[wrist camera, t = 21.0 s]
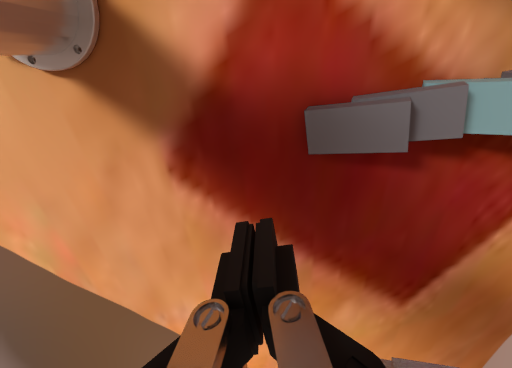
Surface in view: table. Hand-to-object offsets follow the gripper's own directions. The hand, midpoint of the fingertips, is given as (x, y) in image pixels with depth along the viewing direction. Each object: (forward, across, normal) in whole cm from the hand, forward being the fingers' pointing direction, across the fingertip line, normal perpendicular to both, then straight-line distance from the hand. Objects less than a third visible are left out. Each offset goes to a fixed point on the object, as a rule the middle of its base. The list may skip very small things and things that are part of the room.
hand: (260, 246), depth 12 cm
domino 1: (+21, -5, +1) cm, 21 cm away
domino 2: (+21, -10, +1) cm, 23 cm away
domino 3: (+21, -17, 0) cm, 27 cm away
